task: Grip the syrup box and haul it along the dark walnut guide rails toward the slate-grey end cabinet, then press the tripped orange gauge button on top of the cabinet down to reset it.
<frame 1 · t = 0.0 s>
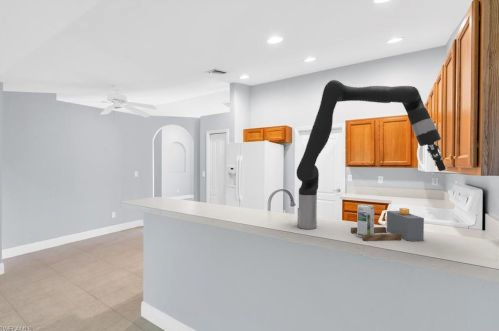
hand: (442, 169, 105), 31 cm above the table, tool tilted 20°, fingers open, 8 cm apart
gauge button: (404, 213, 123), point 10 cm above the table, slide at 0.0 cm
end cabinet: (403, 235, 124), on the table
guide rails: (374, 236, 123), on the table
syrup box: (365, 236, 122), on the table
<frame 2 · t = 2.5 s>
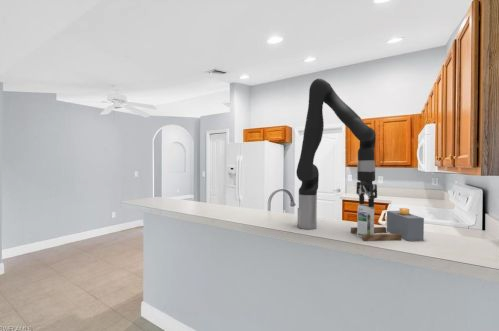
hand: (366, 205, 122), 14 cm above the table, tool pointing down, fingers open, 8 cm apart
syrup box: (365, 237, 122), on the table, touching gripper
everything else where it was.
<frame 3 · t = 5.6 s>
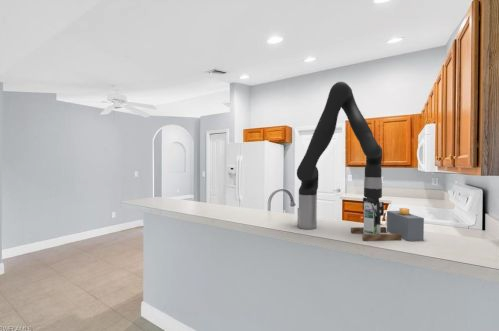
hand: (372, 222, 122), 7 cm above the table, tool pointing down, fingers closed on syrup box, 8 cm apart
syrup box: (371, 234, 122), point 1 cm above the table, touching gripper
everything else where it was.
when the fingers open (5 cm above the table, at t = 7.8 s): syrup box stays where it is, on the table.
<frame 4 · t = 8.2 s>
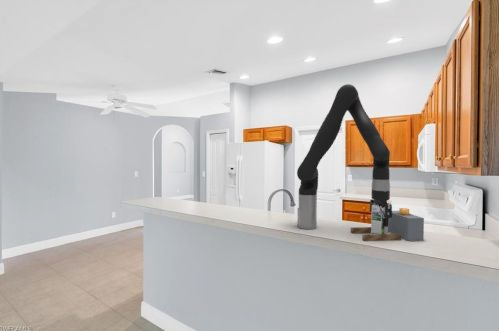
hand: (380, 224, 123), 6 cm above the table, tool pointing down, fingers open, 8 cm apart
syrup box: (379, 236, 123), on the table, touching gripper
everything else where it was.
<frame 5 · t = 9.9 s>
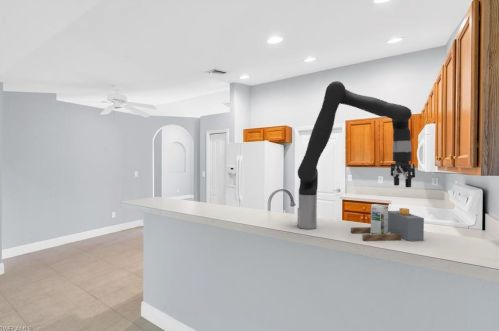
hand: (402, 186, 122), 23 cm above the table, tool pointing down, fingers open, 8 cm apart
syrup box: (379, 236, 123), on the table
everything else where it was.
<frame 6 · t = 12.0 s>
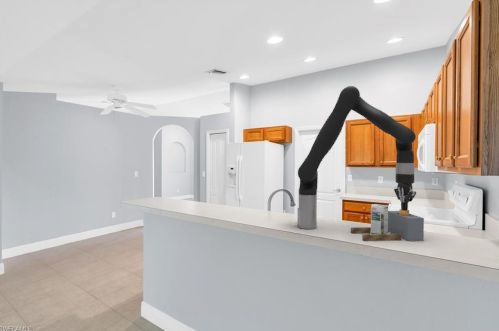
hand: (404, 210, 123), 12 cm above the table, tool pointing down, fingers closed
gauge button: (404, 214, 123), point 10 cm above the table, slide at -0.6 cm, touching gripper
everything else where it was.
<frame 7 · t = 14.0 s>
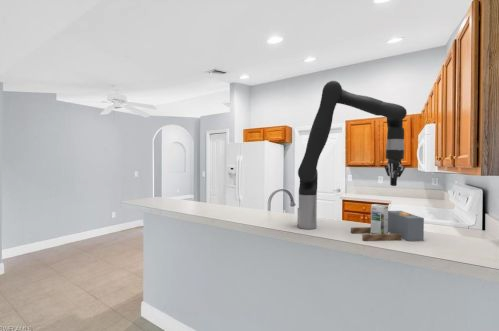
hand: (393, 185, 126), 23 cm above the table, tool pointing down, fingers closed
gauge button: (404, 217, 123), point 9 cm above the table, slide at -1.9 cm
everything else where it was.
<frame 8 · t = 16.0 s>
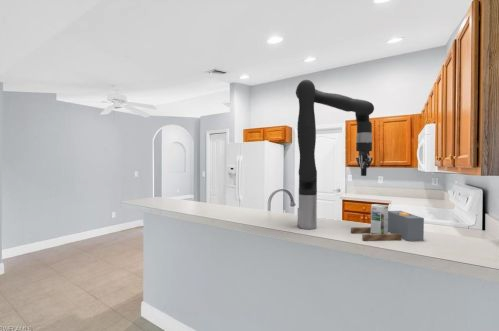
hand: (363, 175, 136), 27 cm above the table, tool pointing down, fingers closed
nothing on the table moved.
at the end: syrup box 1.1 cm from the target spot, on the table; syrup box tilted 0°; gauge button slide at -1.9 cm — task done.
